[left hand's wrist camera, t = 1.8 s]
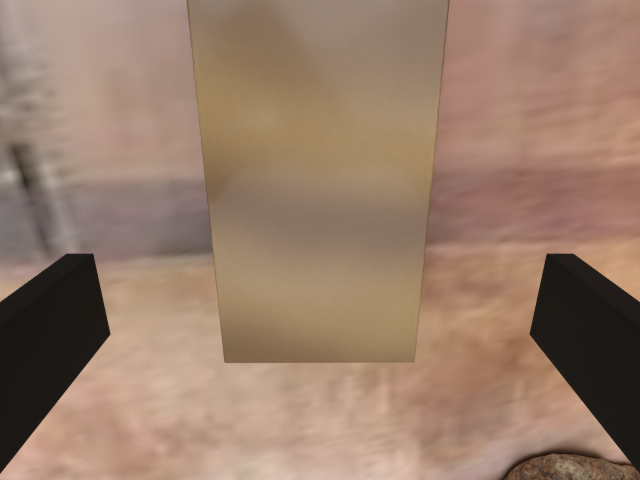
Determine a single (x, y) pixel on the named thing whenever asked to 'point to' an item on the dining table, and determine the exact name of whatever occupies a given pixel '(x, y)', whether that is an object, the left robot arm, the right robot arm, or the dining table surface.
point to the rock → (571, 469)
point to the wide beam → (318, 171)
